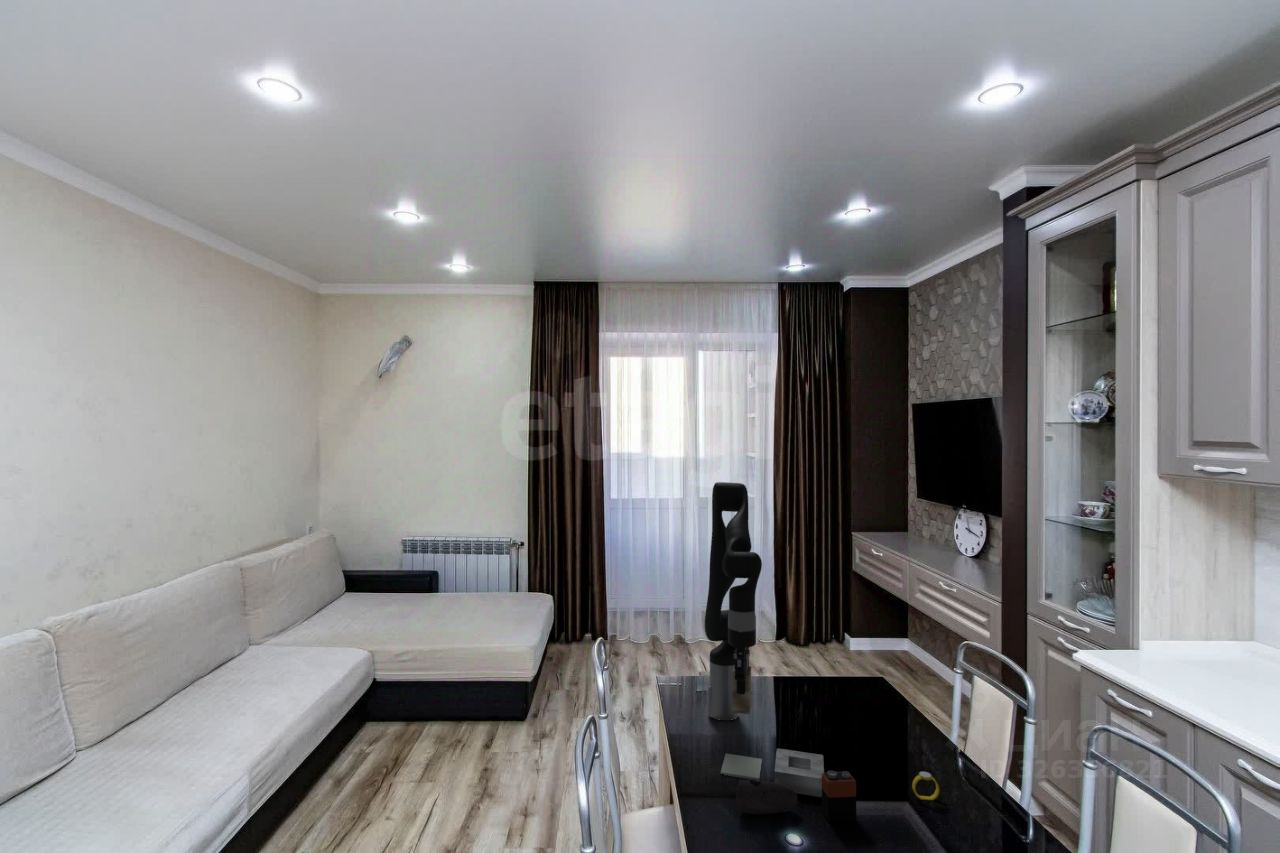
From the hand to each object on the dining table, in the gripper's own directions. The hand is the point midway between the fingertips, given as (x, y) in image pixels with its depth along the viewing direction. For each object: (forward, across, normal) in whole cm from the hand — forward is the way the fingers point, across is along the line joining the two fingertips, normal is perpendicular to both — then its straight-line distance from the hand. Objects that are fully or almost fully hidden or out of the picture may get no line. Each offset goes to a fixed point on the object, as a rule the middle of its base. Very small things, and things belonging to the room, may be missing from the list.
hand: (741, 689), depth 158 cm
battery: (+21, +15, +24) cm, 35 cm away
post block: (+21, +2, +15) cm, 26 cm away
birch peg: (+5, 0, 0) cm, 5 cm away
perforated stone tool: (+21, +18, +8) cm, 29 cm away
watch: (+21, +1, +45) cm, 50 cm away
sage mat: (+21, 0, 0) cm, 21 cm away
